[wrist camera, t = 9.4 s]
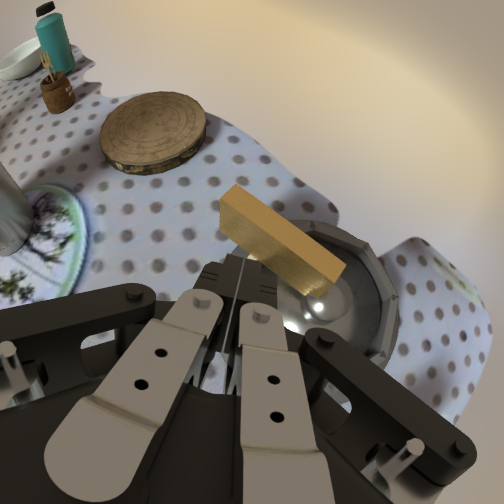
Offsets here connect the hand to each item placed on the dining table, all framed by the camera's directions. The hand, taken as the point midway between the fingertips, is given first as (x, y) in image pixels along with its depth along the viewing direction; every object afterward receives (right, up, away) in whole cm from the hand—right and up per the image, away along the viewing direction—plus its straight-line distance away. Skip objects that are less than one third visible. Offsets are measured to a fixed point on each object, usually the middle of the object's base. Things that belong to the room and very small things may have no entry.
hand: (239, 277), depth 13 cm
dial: (+5, -3, +19) cm, 20 cm away
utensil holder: (-36, +29, +30) cm, 55 cm away
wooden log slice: (-14, +18, +28) cm, 36 cm away
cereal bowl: (-59, +49, +36) cm, 85 cm away
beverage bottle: (-42, +41, +34) cm, 68 cm away
